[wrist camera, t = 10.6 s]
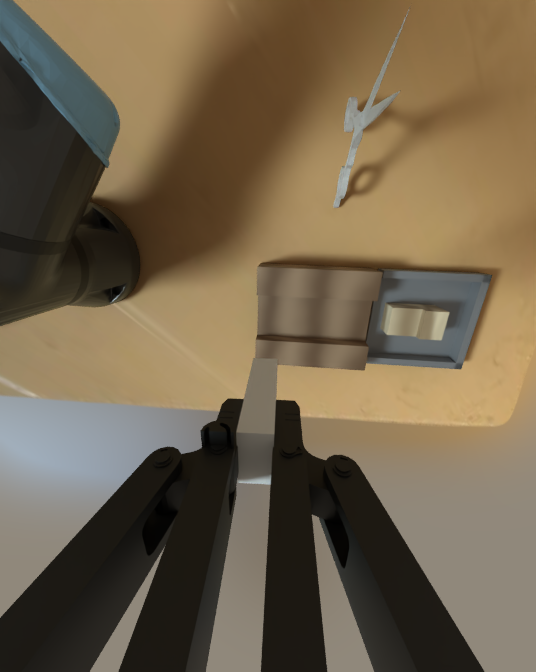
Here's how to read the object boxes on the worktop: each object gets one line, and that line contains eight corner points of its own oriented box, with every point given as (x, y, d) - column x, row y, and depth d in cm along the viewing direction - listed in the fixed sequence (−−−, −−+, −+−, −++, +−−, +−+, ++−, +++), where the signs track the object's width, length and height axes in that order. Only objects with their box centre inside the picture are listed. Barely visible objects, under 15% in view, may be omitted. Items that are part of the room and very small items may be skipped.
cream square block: (380, 328, 40) (387, 334, 38) (385, 302, 39) (392, 307, 36) (406, 329, 40) (415, 336, 37) (413, 304, 39) (422, 309, 36)
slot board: (258, 349, 44) (255, 363, 39) (261, 263, 39) (257, 266, 34) (356, 355, 43) (364, 370, 38) (371, 268, 38) (382, 272, 33)
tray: (362, 356, 43) (366, 363, 41) (378, 268, 38) (384, 270, 36) (451, 361, 42) (461, 369, 40) (479, 272, 37) (492, 275, 35)
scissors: (342, 113, 32) (420, -89, 13) (349, 113, 32) (436, -89, 13) (333, 207, 36) (385, 154, 17) (339, 207, 36) (397, 154, 16)
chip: (419, 339, 36) (441, 340, 36) (426, 311, 35) (449, 312, 35) (407, 329, 40) (427, 330, 40) (413, 304, 39) (434, 305, 39)
